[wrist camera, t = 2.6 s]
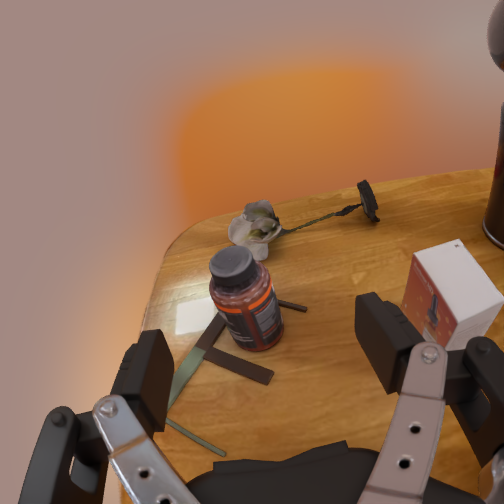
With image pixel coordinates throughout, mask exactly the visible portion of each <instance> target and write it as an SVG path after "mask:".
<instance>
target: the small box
mask: <svg viewBox="0 0 504 504" xmlns="http://www.w3.org/2000/svg"><path fill="white" fill-rule="evenodd" d="M503 304H504V297H503V296H502V294H501V293H500V292H499V291H498V290H497V288H496V287H495V285H494V284H493V283H492V281H491V280H490V279H489V277H488V276H487V275H486V273H485V272H484V271H483V269H482V268H481V267H480V265H479V264H478V263H477V262H476V260H475V259H474V258H473V256H472V255H471V254H470V253H469V251H468V250H467V249H466V248H465V246H464V245H463V243H462V242H461V241H460V239H456V240H453V241H450V242H447V243H444V244H441V245H437V246H434V247H431V248H428V249H424V250H421V251H418V252H415V253H413V257H412V262H411V267H410V272H409V276H408V281H407V285H406V289H405V294H404V298H403V301H402V306H401V309H400V310H401V311H402V312H403V313H404V315H405V316H406V317H407V318H408V319H409V321H410V322H411V323H412V324H413V325H414V327H415V328H416V329H417V330H418V332H419V333H420V334H421V335H422V336H423V338H424V339H425V340H426V341H430V342H435V343H438V344H440V345H442V346H443V347H444V348H445V349H446V351H452V350H461V349H465V348H466V345H467V342H468V341H469V340H470V339H471V338H473V337H477V336H484V335H485V333H486V332H487V330H488V328H489V327H490V325H491V324H492V322H493V320H494V319H495V317H496V315H497V314H498V312H499V310H500V309H501V307H502V305H503Z"/></svg>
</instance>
